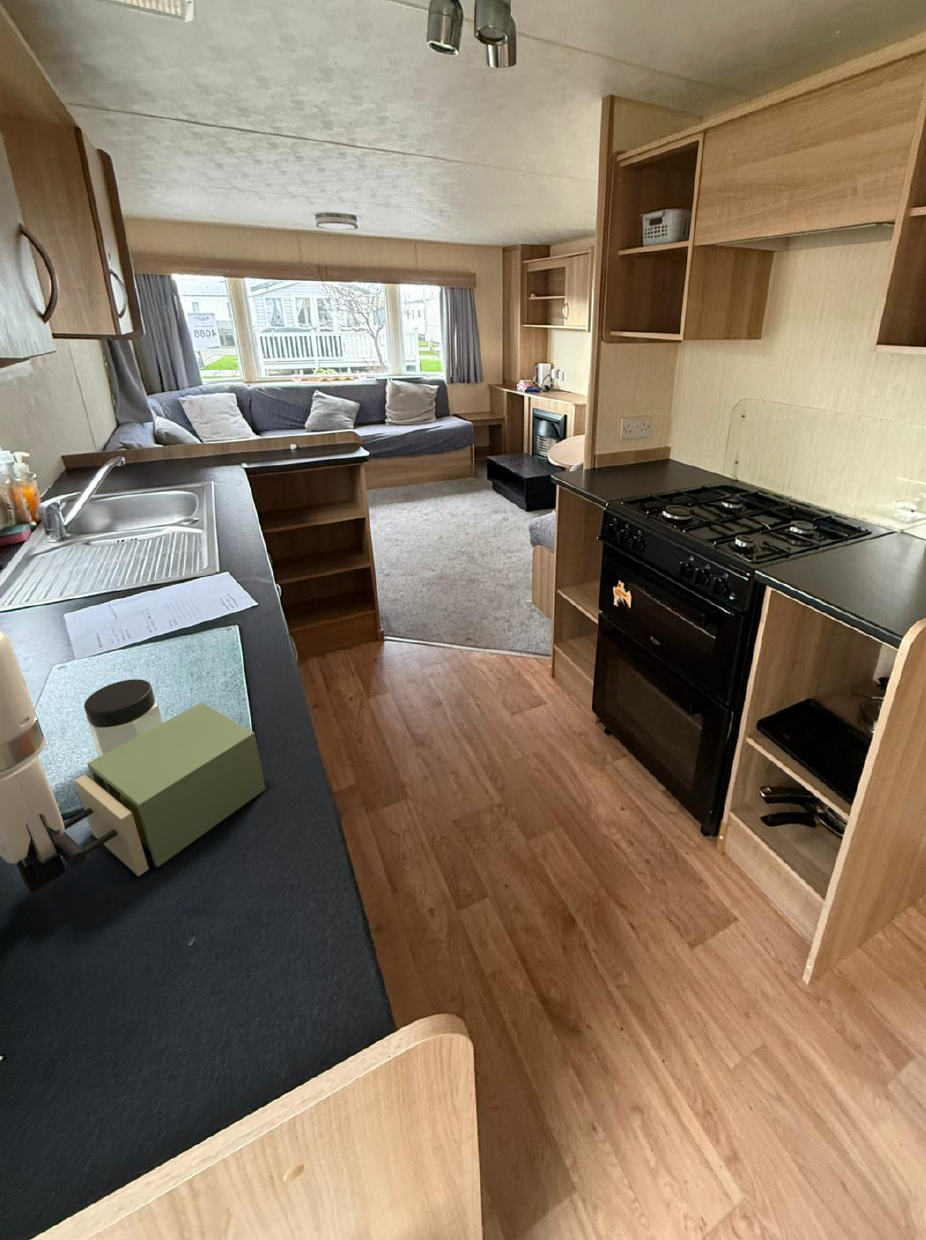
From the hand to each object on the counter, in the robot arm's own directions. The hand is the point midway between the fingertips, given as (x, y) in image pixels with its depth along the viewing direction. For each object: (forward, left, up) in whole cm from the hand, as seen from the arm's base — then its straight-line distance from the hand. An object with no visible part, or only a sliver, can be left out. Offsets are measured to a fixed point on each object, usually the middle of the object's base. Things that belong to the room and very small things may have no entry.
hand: (46, 878), depth 64 cm
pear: (0, +10, -2) cm, 10 cm away
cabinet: (0, +15, -4) cm, 16 cm away
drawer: (0, +11, -3) cm, 11 cm away
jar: (-16, +16, -4) cm, 23 cm away
